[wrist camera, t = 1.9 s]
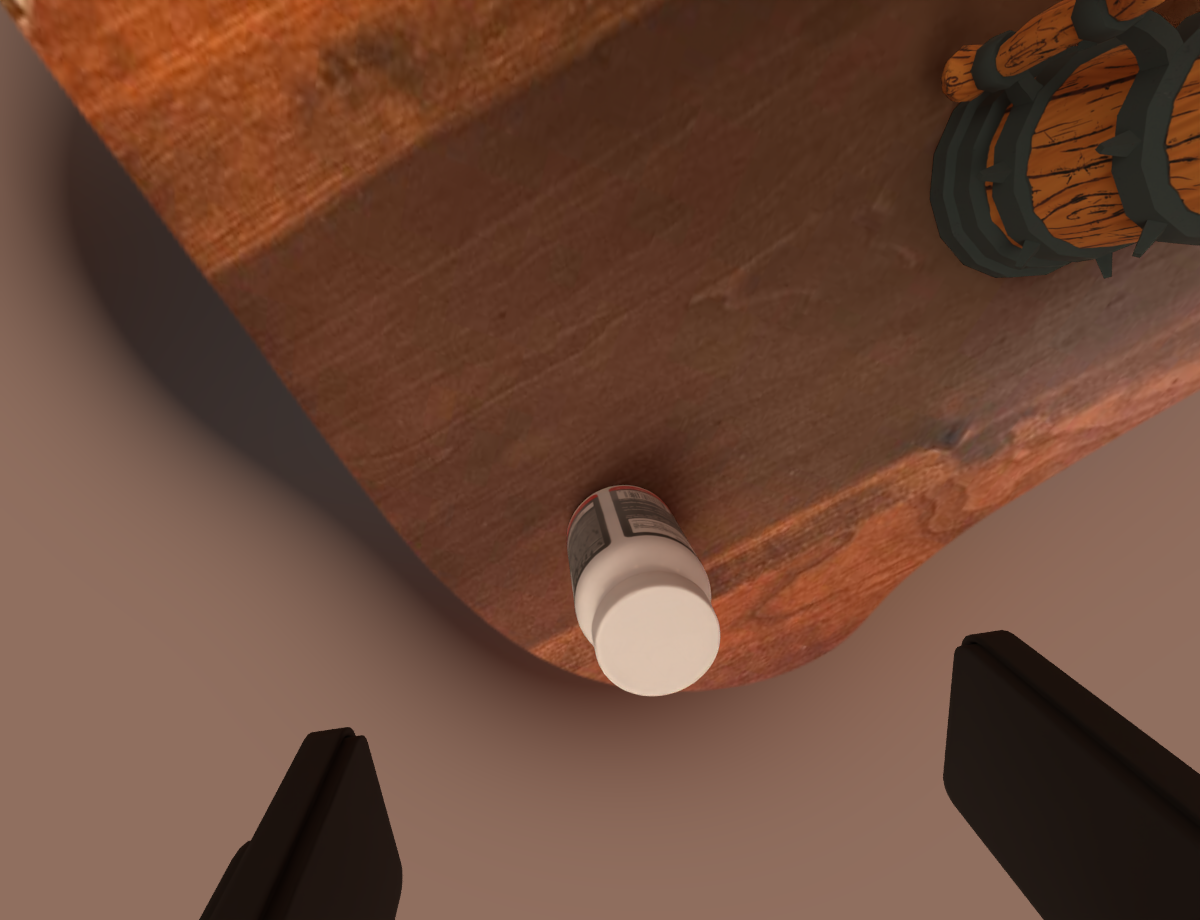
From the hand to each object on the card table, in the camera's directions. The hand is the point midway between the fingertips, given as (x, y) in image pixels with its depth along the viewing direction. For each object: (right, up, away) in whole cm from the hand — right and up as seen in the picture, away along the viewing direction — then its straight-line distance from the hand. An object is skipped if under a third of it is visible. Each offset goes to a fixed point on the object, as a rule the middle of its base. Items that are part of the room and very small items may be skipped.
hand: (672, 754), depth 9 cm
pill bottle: (0, +1, +22) cm, 22 cm away
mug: (+18, +19, +18) cm, 32 cm away
